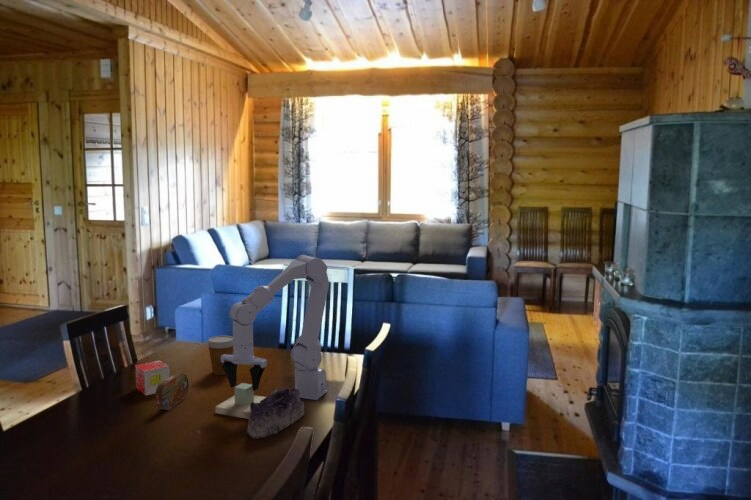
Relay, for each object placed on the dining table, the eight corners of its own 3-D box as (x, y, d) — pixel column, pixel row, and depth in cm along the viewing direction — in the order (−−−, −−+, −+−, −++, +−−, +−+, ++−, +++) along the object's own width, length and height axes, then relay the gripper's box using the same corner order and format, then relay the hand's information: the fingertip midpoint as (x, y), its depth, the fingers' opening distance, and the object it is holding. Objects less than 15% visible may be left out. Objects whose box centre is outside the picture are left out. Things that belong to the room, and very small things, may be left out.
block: (253, 400, 177) (253, 384, 176) (246, 405, 173) (246, 389, 172) (242, 398, 178) (242, 382, 177) (234, 403, 174) (234, 387, 174)
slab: (272, 405, 179) (272, 398, 179) (251, 421, 168) (250, 412, 168) (238, 400, 183) (238, 392, 183) (215, 414, 172) (215, 406, 172)
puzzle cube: (145, 395, 185) (144, 371, 184) (136, 388, 191) (135, 365, 190) (170, 389, 190) (169, 366, 189) (160, 383, 196) (159, 360, 195)
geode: (275, 445, 153) (270, 408, 152) (238, 442, 157) (232, 407, 156) (312, 412, 171) (307, 379, 170) (278, 411, 176) (273, 379, 175)
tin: (163, 414, 171) (162, 386, 170) (153, 413, 171) (152, 385, 170) (189, 395, 185) (189, 369, 184) (180, 394, 186) (179, 369, 185)
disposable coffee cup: (241, 370, 209) (240, 337, 207) (221, 378, 201) (220, 344, 199) (222, 366, 214) (221, 333, 212) (202, 373, 206) (201, 339, 204)
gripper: (214, 344, 172) (215, 389, 174) (257, 349, 167) (258, 395, 169) (228, 338, 178) (229, 381, 180) (270, 343, 173) (271, 387, 175)
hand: (244, 387), depth 175 cm, fingers open, 7 cm apart
